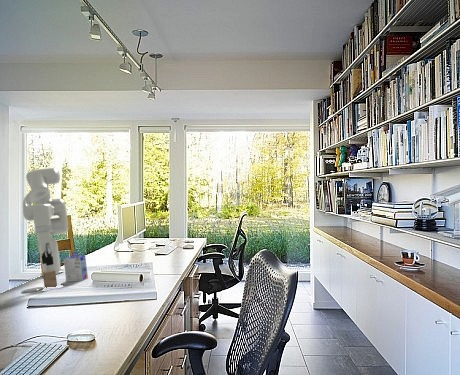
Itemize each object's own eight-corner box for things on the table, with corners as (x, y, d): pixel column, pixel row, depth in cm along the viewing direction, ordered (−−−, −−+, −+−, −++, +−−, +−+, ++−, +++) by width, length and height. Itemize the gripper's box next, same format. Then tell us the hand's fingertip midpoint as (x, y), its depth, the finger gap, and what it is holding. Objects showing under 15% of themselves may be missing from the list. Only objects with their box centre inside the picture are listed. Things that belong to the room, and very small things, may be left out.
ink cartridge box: (88, 278, 239) (85, 250, 238) (83, 280, 233) (79, 252, 233) (71, 279, 241) (68, 252, 240) (65, 282, 235) (62, 254, 235)
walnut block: (44, 288, 226) (42, 271, 226) (55, 285, 229) (53, 269, 228) (46, 289, 222) (44, 273, 222) (57, 287, 224) (55, 270, 224)
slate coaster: (19, 291, 225) (19, 290, 225) (41, 286, 230) (41, 286, 230) (23, 294, 217) (23, 293, 217) (45, 289, 222) (45, 289, 222)
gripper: (32, 230, 230) (36, 264, 230) (38, 231, 215) (43, 267, 215) (47, 227, 234) (52, 261, 234) (55, 228, 219) (59, 264, 219)
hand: (47, 264), depth 224 cm, fingers open, 9 cm apart
